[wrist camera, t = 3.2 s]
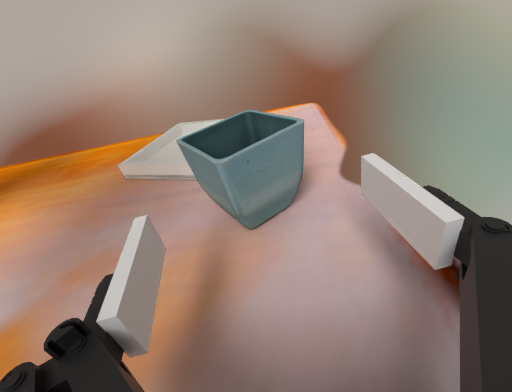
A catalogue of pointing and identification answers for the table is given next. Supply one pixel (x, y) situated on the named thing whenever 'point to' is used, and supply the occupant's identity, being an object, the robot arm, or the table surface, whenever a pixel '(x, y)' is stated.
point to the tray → (163, 156)
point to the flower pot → (248, 163)
